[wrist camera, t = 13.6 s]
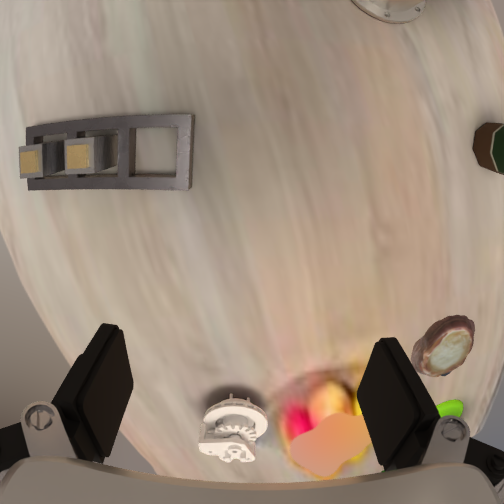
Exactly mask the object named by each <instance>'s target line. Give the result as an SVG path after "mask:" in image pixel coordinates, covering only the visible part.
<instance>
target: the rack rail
mask: <svg viewBox="0 0 504 504" xmlns="http://www.w3.org/2000/svg"><path fill="white" fill-rule="evenodd" d="M194 122H195V115H192V114H166V115H135V116H118V117H105V118H93V119H83V120H74V121H66V122H58V123H51V124H44V125H38V126H32V127H26V146H27V145H32V144H38V143H43V136H44V135H52V134H60V133H67V140H68V139H75V138H83V137H85V131H91V130H104V129H118V174H98V175H86V174H68V175H66V176H45V177H35V178H27V183H28V191H29V190H61V189H150V190H185V191H188V190H189V189H190V188H191V187H192V163H193V140H194ZM147 127H178V136H177V163H176V175H167V174H135V148H136V128H147Z"/></svg>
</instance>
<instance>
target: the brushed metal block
mask: <svg viewBox="0 0 504 504" xmlns="http://www.w3.org/2000/svg"><path fill="white" fill-rule="evenodd" d="M117 165H118V135H107V136H92V137H83V138H75V139H68V140H65V174H89V173H97V172H99V171H102V170H105V169H108V168H111V167H114V166H117Z"/></svg>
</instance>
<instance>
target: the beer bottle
mask: <svg viewBox="0 0 504 504" xmlns="http://www.w3.org/2000/svg"><path fill="white" fill-rule="evenodd" d="M473 150H474V153H475V155H476V158H477V160H478V163H479V165H480V166H482V167H484V168H487V169H489V170H491V171H494V172H496V173H499V174H502V175H504V124H500V123H486V124H485V125H483V126H482V127H481V128H480V129H478V130H477V131H476V132H475V139H474V146H473Z"/></svg>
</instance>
